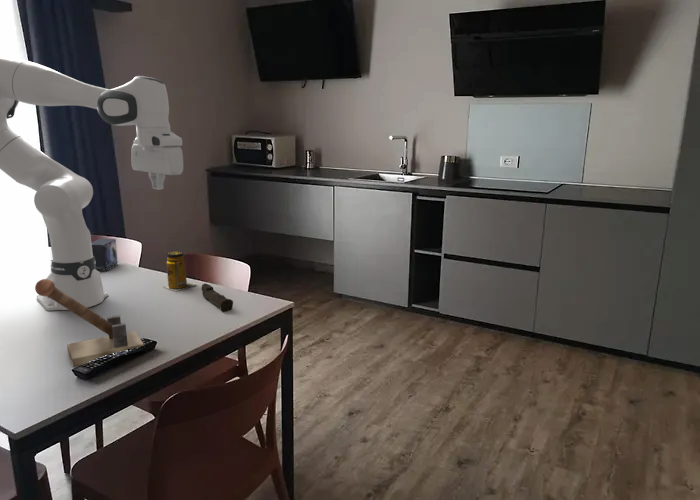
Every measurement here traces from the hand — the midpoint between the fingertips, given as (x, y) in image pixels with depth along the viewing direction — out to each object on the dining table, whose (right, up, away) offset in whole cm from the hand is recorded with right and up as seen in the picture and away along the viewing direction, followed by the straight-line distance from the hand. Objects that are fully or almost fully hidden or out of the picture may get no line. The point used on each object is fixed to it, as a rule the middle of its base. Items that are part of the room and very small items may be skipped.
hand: (158, 189), depth 154 cm
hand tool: (+11, -34, +19) cm, 40 cm away
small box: (-40, -24, +56) cm, 73 cm away
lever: (-4, -39, -15) cm, 42 cm away
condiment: (-4, -30, +35) cm, 46 cm away
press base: (-7, -42, -16) cm, 46 cm away
